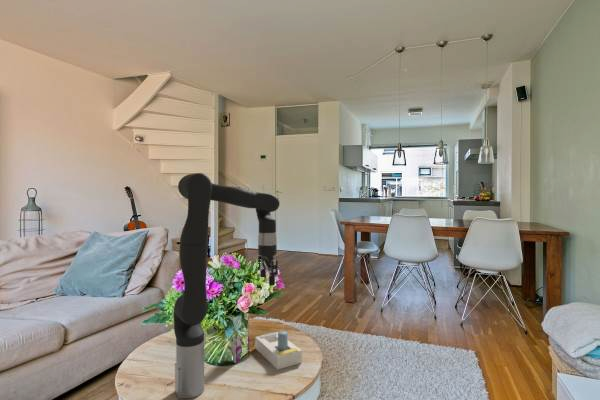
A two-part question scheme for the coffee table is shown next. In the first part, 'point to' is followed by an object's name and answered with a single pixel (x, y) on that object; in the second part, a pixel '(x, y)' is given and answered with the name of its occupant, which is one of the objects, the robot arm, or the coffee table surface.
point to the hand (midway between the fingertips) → (267, 283)
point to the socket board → (270, 351)
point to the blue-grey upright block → (282, 341)
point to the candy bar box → (238, 346)
